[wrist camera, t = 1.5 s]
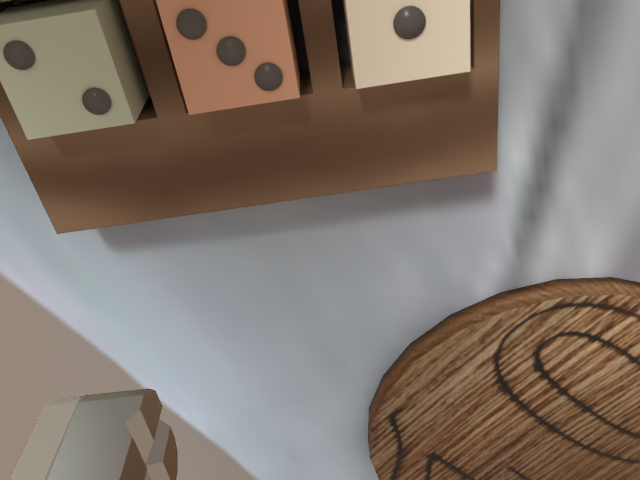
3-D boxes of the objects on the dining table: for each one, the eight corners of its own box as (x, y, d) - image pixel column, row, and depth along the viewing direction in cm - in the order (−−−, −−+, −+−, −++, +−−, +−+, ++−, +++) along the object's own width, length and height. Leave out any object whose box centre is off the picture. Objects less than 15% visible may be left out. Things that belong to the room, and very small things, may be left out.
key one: (337, -48, 24) (341, -32, 22) (451, -68, 24) (470, -53, 21) (350, 63, 27) (356, 89, 24) (454, 47, 26) (471, 72, 24)
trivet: (532, 543, 54) (539, 565, 52) (296, 443, 45) (296, 466, 43) (802, 380, 42) (821, 401, 41) (560, 202, 33) (572, 221, 32)
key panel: (-80, -146, 23) (-124, -141, 21) (481, -251, 22) (504, -258, 19) (75, 201, 32) (56, 233, 29) (480, 141, 31) (496, 170, 28)
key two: (7, 7, 25) (-26, 29, 22) (115, -11, 25) (94, 10, 22) (51, 110, 27) (26, 141, 25) (149, 95, 27) (134, 124, 25)
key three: (169, -20, 25) (154, 0, 22) (280, -39, 24) (278, -21, 22) (198, 87, 27) (188, 115, 25) (299, 71, 27) (299, 98, 24)
